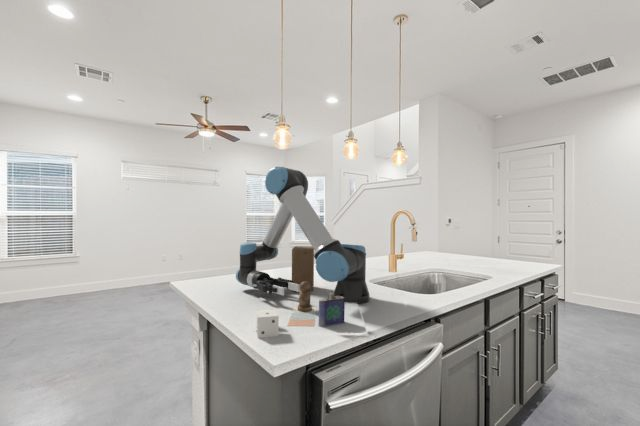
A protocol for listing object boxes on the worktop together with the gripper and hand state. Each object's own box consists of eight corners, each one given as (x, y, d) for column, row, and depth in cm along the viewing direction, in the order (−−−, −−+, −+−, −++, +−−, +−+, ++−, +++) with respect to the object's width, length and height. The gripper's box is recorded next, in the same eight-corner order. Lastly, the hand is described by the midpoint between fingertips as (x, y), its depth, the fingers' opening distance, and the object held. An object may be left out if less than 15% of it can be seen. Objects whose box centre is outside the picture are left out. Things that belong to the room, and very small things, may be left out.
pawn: (311, 307, 113) (312, 279, 112) (311, 312, 107) (312, 283, 107) (297, 307, 112) (298, 279, 112) (297, 312, 107) (297, 283, 107)
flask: (320, 330, 93) (320, 295, 93) (316, 326, 95) (316, 293, 96) (346, 325, 97) (346, 292, 97) (341, 322, 100) (341, 290, 100)
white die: (276, 328, 94) (276, 309, 94) (278, 336, 88) (278, 315, 88) (256, 330, 92) (256, 310, 92) (257, 338, 87) (257, 317, 87)
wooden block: (312, 291, 139) (313, 248, 139) (291, 291, 139) (291, 248, 139) (313, 286, 149) (314, 246, 149) (293, 286, 149) (293, 246, 149)
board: (317, 309, 113) (317, 307, 113) (315, 329, 93) (315, 326, 93) (293, 308, 113) (293, 306, 113) (286, 328, 94) (286, 326, 94)
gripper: (277, 285, 139) (310, 295, 122) (238, 292, 125) (269, 305, 109) (277, 269, 139) (310, 276, 122) (238, 274, 125) (269, 284, 109)
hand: (291, 290), depth 116 cm, fingers open, 7 cm apart
